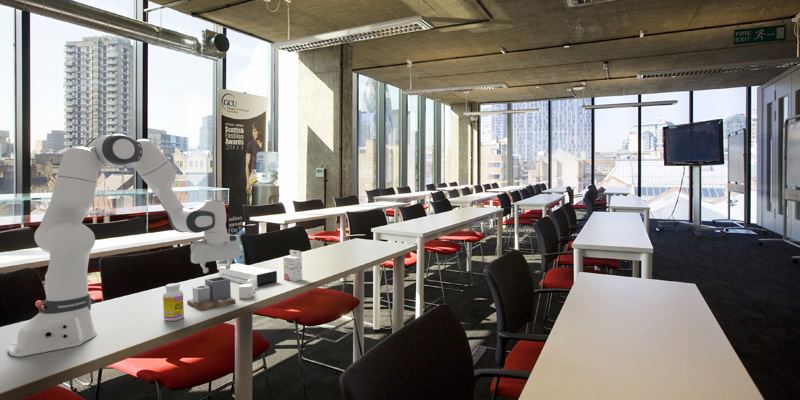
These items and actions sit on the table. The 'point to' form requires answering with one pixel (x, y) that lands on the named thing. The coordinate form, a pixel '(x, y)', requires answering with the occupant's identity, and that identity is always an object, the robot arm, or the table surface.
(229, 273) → the laminator
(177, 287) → the supplement bottle
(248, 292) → the white dumbbell
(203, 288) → the light grey square container
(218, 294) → the dark grey square container
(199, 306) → the brown wooden tray
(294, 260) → the ink cartridge box
